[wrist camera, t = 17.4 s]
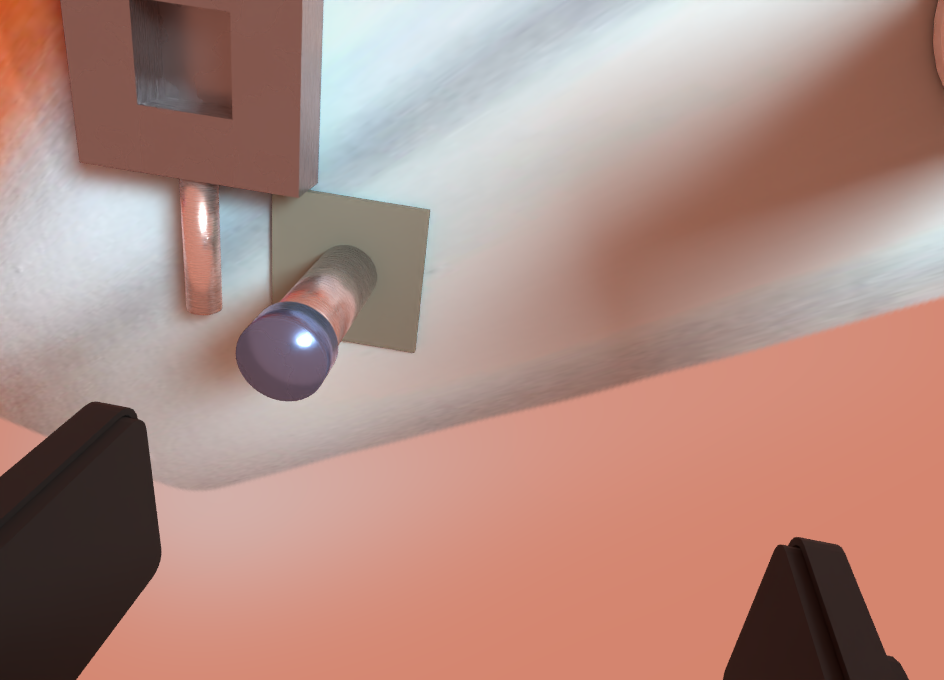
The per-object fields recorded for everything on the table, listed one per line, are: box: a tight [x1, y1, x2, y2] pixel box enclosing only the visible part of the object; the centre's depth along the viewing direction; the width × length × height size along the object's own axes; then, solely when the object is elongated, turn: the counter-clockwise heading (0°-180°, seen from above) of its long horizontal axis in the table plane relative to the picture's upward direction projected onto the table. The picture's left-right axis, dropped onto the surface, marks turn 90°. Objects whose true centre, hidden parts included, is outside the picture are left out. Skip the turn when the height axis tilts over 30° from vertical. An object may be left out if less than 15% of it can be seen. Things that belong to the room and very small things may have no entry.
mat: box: [272, 190, 430, 353], centre depth 43 cm, size 9×9×1 cm
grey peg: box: [236, 245, 377, 401], centre depth 38 cm, size 4×4×11 cm
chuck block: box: [60, 0, 323, 315], centre depth 39 cm, size 20×12×3 cm, turn 173°
